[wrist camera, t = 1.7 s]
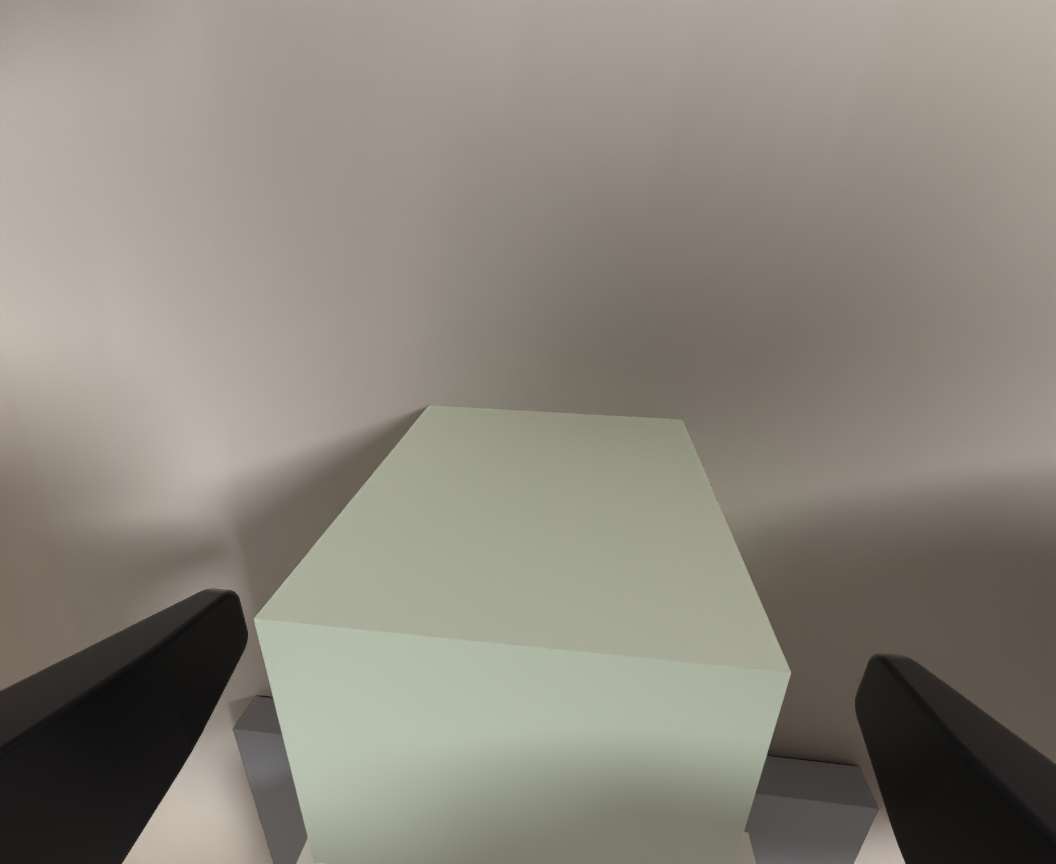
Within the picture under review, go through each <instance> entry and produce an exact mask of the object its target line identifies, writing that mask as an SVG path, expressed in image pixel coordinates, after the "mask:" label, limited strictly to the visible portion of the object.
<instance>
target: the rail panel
mask: <svg viewBox="0 0 1056 864" xmlns="http://www.w3.org/2000/svg"><path fill="white" fill-rule="evenodd" d="M233 731H234V734H235V738H236V741H237V744H238V748H239V751H240V754H241V758H242V761H243V764H244V767H245V771H246V774H247V777H248V781H249V784H250V787H251V791H252V794H253V797H254V801H255V804H256V807H257V810H258V814H259V817H260V820H261V824H262V827H263V830H264V834H265V837H266V840H267V844H268V847H269V850H270V853H271V857H272V860H273V863H274V864H325V863H318V862H314V861H313V857H312V853H311V849H310V845H309V840H308V836H307V832H306V828H305V824H304V820H303V816H302V812H301V808H300V804H299V800H298V796H297V792H296V788H295V784H294V780H293V776H292V772H291V768H290V764H289V760H288V756H287V752H286V748H285V744H284V740H283V736H282V732H281V728H280V724H279V720H278V716H277V712H276V707H275V703H274V699H273V698H268V697H259V696H255V697H254V699H253V700H252V702H251V703H250V704H249V706H248V707H247V709H246V710H245V712H244V713H243V715H242V716H241V718H240V719H239V720H238V722H237V723H236V725H235V726H234V728H233ZM878 809H879V808H878V806H877V804H876V802H875V800H874V798H873V796H872V794H871V791H870V789H869V787H868V785H867V783H866V781H865V779H864V777H863V775H862V772H861V770H860V768H859V767H858V766H849V765H841V764H832V763H824V762H815V761H807V760H798V759H789V758H781V757H772V756H766V759H765V763H764V766H763V770H762V773H761V776H760V780H759V783H758V786H757V790H756V793H755V796H754V800H753V803H752V806H751V810H750V813H749V816H748V820H747V823H746V826H745V830H744V833H743V836H742V840H741V843H740V847H739V850H738V853H737V857H736V860H735V863H734V864H854V862H855V859H856V857H857V855H858V853H859V851H860V849H861V846H862V844H863V842H864V840H865V838H866V835H867V833H868V831H869V829H870V827H871V825H872V822H873V820H874V818H875V816H876V814H877V811H878Z"/></svg>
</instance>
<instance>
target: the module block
mask: <svg viewBox="0 0 1056 864" xmlns="http://www.w3.org/2000/svg"><path fill="white" fill-rule="evenodd" d="M254 623H255V627H256V631H257V635H258V639H259V643H260V647H261V651H262V655H263V659H264V663H265V667H266V671H267V675H268V679H269V683H270V687H271V691H272V695H273V699H274V703H275V707H276V712H277V716H278V720H279V724H280V728H281V732H282V736H283V740H284V744H285V748H286V752H287V756H288V760H289V764H290V768H291V772H292V776H293V780H294V784H295V788H296V792H297V796H298V800H299V804H300V808H301V812H302V816H303V820H304V824H305V828H306V832H307V836H308V840H309V845H310V849H311V853H312V857H313V861H314V862H318V863H325V864H734V863H735V860H736V857H737V853H738V850H739V847H740V843H741V840H742V836H743V833H744V830H745V826H746V823H747V820H748V816H749V813H750V810H751V806H752V803H753V800H754V796H755V793H756V790H757V786H758V783H759V780H760V776H761V773H762V770H763V766H764V763H765V759H766V756H767V753H768V749H769V746H770V743H771V739H772V736H773V733H774V729H775V726H776V723H777V719H778V716H779V713H780V709H781V706H782V703H783V699H784V696H785V692H786V689H787V686H788V682H789V679H790V676H791V671H790V668H789V666H788V664H787V661H786V659H785V657H784V654H783V652H782V650H781V647H780V645H779V643H778V640H777V638H776V636H775V633H774V631H773V629H772V626H771V624H770V622H769V619H768V617H767V615H766V612H765V610H764V608H763V605H762V603H761V601H760V598H759V596H758V594H757V591H756V589H755V587H754V584H753V582H752V580H751V577H750V575H749V573H748V570H747V568H746V566H745V563H744V561H743V559H742V556H741V554H740V552H739V549H738V547H737V545H736V542H735V540H734V538H733V535H732V533H731V531H730V528H729V526H728V524H727V521H726V519H725V517H724V514H723V512H722V510H721V507H720V505H719V503H718V500H717V498H716V496H715V493H714V491H713V489H712V486H711V484H710V482H709V479H708V477H707V475H706V472H705V470H704V468H703V465H702V463H701V461H700V458H699V456H698V454H697V451H696V449H695V447H694V444H693V442H692V440H691V437H690V435H689V433H688V430H687V428H686V426H685V423H684V421H683V420H682V419H665V418H647V417H630V416H613V415H595V414H578V413H560V412H543V411H525V410H508V409H491V408H473V407H456V406H438V405H429V406H428V407H427V408H426V409H425V410H424V412H423V413H422V414H421V415H420V417H419V418H418V419H417V420H416V421H415V423H414V424H413V425H412V426H411V428H410V429H409V430H408V431H407V432H406V434H405V435H404V436H403V437H402V438H401V440H400V441H399V442H398V443H397V445H396V446H395V447H394V448H393V449H392V451H391V452H390V453H389V454H388V456H387V457H386V458H385V459H384V460H383V462H382V463H381V464H380V465H379V467H378V468H377V469H376V470H375V471H374V473H373V474H372V475H371V476H370V477H369V479H368V480H367V481H366V482H365V484H364V485H363V486H362V487H361V488H360V490H359V491H358V492H357V493H356V495H355V496H354V497H353V498H352V499H351V501H350V502H349V503H348V504H347V506H346V507H345V508H344V509H343V510H342V512H341V513H340V514H339V515H338V516H337V518H336V519H335V520H334V521H333V523H332V524H331V525H330V526H329V527H328V529H327V530H326V531H325V532H324V534H323V535H322V536H321V537H320V538H319V540H318V541H317V542H316V543H315V545H314V546H313V547H312V548H311V549H310V551H309V552H308V553H307V554H306V555H305V557H304V558H303V559H302V560H301V562H300V563H299V564H298V565H297V566H296V568H295V569H294V570H293V571H292V573H291V574H290V575H289V576H288V577H287V579H286V580H285V581H284V582H283V584H282V585H281V586H280V587H279V588H278V590H277V591H276V592H275V593H274V594H273V596H272V597H271V598H270V599H269V601H268V602H267V603H266V604H265V605H264V607H263V608H262V609H261V610H260V612H259V613H258V614H257V615H256V616H255V618H254Z"/></svg>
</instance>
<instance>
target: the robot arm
mask: <svg viewBox="0 0 1056 864" xmlns="http://www.w3.org/2000/svg"><path fill="white" fill-rule="evenodd" d="M247 640H248V630H247V626H246V622H245V618H244V614H243V610H242V606H241V603H240V599H239V596H238V595H237V594H236V593H235V592H234V591H231V590H222V589H206V590H203V591H201V592H199V593H197V594H195V595H193V596H191V597H189V598H187V599H185V600H183V601H181V602H179V603H177V604H175V605H173V606H171V607H168V608H166V609H164V610H162V611H160V612H158V613H156V614H154V615H152V616H150V617H148V618H146V619H144V620H142V621H140V622H138V623H136V624H134V625H132V626H130V627H128V628H126V629H124V630H122V631H120V632H118V633H116V634H114V635H112V636H110V637H108V638H106V639H104V640H102V641H100V642H98V643H96V644H94V645H92V646H90V647H88V648H86V649H84V650H82V651H80V652H78V653H76V654H74V655H72V656H70V657H68V658H66V659H64V660H62V661H60V662H58V663H56V664H54V665H52V666H50V667H48V668H46V669H44V670H42V671H40V672H38V673H36V674H34V675H32V676H30V677H28V678H26V679H24V680H22V681H20V682H18V683H16V684H13V685H11V686H9V687H7V688H5V689H3V690H1V691H0V864H122V863H123V861H124V860H125V858H126V856H127V855H128V853H129V852H130V850H131V848H132V847H133V845H134V844H135V842H136V841H137V839H138V837H139V836H140V834H141V833H142V831H143V829H144V828H145V826H146V825H147V823H148V821H149V820H150V818H151V817H152V815H153V813H154V812H155V810H156V809H157V807H158V805H159V804H160V802H161V801H162V799H163V797H164V796H165V794H166V793H167V791H168V789H169V788H170V786H171V785H172V783H173V782H174V780H175V778H176V777H177V775H178V774H179V772H180V770H181V769H182V767H183V765H184V764H185V762H186V760H187V759H188V757H189V755H190V754H191V752H192V750H193V748H194V747H195V745H196V743H197V741H198V739H199V737H200V736H201V734H202V732H203V730H204V728H205V726H206V724H207V722H208V720H209V718H210V716H211V714H212V712H213V710H214V708H215V706H216V705H217V703H218V701H219V699H220V697H221V695H222V693H223V691H224V689H225V687H226V685H227V683H228V681H229V679H230V677H231V675H232V673H233V671H234V669H235V667H236V666H237V664H238V662H239V660H240V658H241V656H242V654H243V652H244V650H245V647H246V644H247ZM855 710H856V715H857V719H858V722H859V725H860V728H861V731H862V735H863V738H864V741H865V744H866V747H867V750H868V754H869V757H870V760H871V763H872V766H873V769H874V773H875V776H876V779H877V782H878V785H879V788H880V792H881V795H882V798H883V801H884V804H885V807H886V810H887V814H888V817H889V820H890V823H891V826H892V829H893V832H894V835H895V837H896V840H897V843H898V846H899V848H900V851H901V853H902V856H903V858H904V861H905V863H906V864H1056V764H1055V763H1053V762H1052V761H1051V760H1049V759H1048V758H1047V757H1045V756H1044V755H1042V754H1041V753H1040V752H1038V751H1037V750H1036V749H1034V748H1033V747H1032V746H1030V745H1029V744H1028V743H1026V742H1025V741H1023V740H1022V739H1021V738H1019V737H1018V736H1017V735H1015V734H1014V733H1013V732H1011V731H1010V730H1008V729H1007V728H1006V727H1004V726H1003V725H1002V724H1000V723H999V722H998V721H996V720H995V719H994V718H992V717H991V716H989V715H988V714H987V713H985V712H984V711H983V710H981V709H980V708H979V707H977V706H976V705H974V704H973V703H972V702H970V701H969V700H968V699H966V698H965V697H964V696H962V695H961V694H960V693H958V692H957V691H955V690H954V689H953V688H951V687H950V686H949V685H947V684H946V683H945V682H943V681H942V680H940V679H939V678H938V677H936V676H935V675H934V674H932V673H931V672H930V671H928V670H927V669H926V668H924V667H923V666H921V665H920V664H919V663H917V662H916V661H914V660H913V659H911V658H909V657H906V656H900V655H890V654H875V655H873V656H872V657H871V658H870V660H869V662H868V664H867V667H866V670H865V672H864V675H863V678H862V680H861V683H860V685H859V688H858V691H857V693H856V697H855Z"/></svg>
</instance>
